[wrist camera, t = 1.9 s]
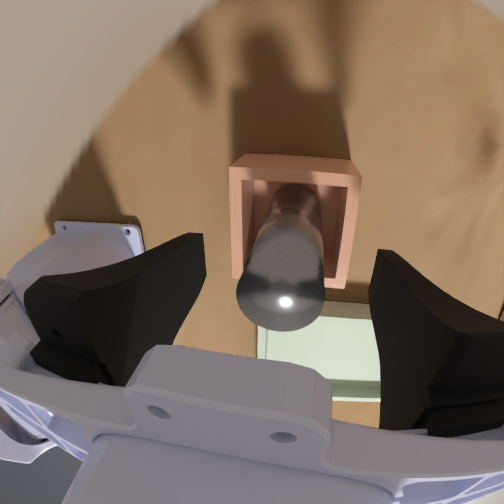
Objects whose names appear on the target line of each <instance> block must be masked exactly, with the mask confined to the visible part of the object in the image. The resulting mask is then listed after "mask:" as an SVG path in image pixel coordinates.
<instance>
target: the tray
mask: <svg viewBox="0 0 504 504" xmlns="http://www.w3.org/2000/svg"><path fill="white" fill-rule="evenodd" d="M257 358H259V359H267V360H275V361H284V362H291V363H294V364H298V365H301V366H305V367H309V368H312V369H315V370H316V371H317V372H318V373H320V374H321V375H322V376H323V377H325V378H326V379H327V380H328V381H329V382H331V389H332V400H336V401H368V402H381V381H380V361H379V353H378V348H377V343H376V338H375V333H374V328H373V324H372V319H371V314H370V306H369V304H361V303H348V302H335V301H325V302H324V307H323V309H322V312H321V313H320V315H319V316H318V318H317V319H316V320H315V321H314V322H312V323H311V324H310V325H308V326H306V327H304V328H302V329H299V330H295V331H289V332H279V331H272V330H268V329H265V328H263V327H260V326H258V347H257Z"/></svg>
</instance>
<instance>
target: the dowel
mask: <svg viewBox="0 0 504 504" xmlns="http://www.w3.org/2000/svg"><path fill="white" fill-rule="evenodd" d="M236 296H237V301H238V304H239V307H240V309H241V310H242V312H243V313H244V314H245V316H246V317H247V318H248V319H250V320H251V321H252V322H253V323H255V324H257V325H258V326H260V327H263V328H265V329H268V330H272V331H279V332H289V331H295V330H299V329H302V328H304V327H306V326H308V325H310V324H311V323H312V322H314V321H315V320H316V319H317V318H318V316H319V315H320V313H321V312H322V309H323V307H324V302H325V284H324V255H323V235H322V218H321V205H320V200H319V198H318V196H317V195H316V193H315V192H314V191H313V190H312V189H310V188H309V187H307V186H305V185H302V184H288V185H285V186H283V187H281V188H280V189H279V190H278V191H277V192H276V193H275V194H274V196H273V198H272V201H271V203H270V206H269V208H268V211H267V213H266V216H265V218H264V221H263V223H262V225H261V228H260V230H259V233H258V235H257V238H256V240H255V243H254V245H253V248H252V250H251V253H250V255H249V258H248V260H247V262H246V265H245V267H244V270H243V272H242V275H241V277H240V280H239V282H238V285H237V289H236Z"/></svg>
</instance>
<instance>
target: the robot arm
mask: <svg viewBox="0 0 504 504" xmlns="http://www.w3.org/2000/svg"><path fill="white" fill-rule="evenodd" d="M54 228H55V231H56V234H54V235H53V236H51V237H50V238H48V239H47V240H46V241H44V242H43V243H41V244H40V245H39V246H37V247H36V248H35V249H33V250H32V251H30V252H29V253H28V254H26V255H25V256H24V257H22V258H21V259H20V260H19V261H17V262H16V263H15V264H14V265H13V266H12V267H11V269H10V270H9V272H8V274H7V277H6V279H3V278H0V459H3V460H8V461H14V462H20V463H31V462H32V461H33V460H34V459H36V458H37V457H38V456H39V455H41V454H42V453H43V452H45V451H46V450H48V449H50V448H52V447H54V446H57V445H58V446H59V447H61V448H62V449H64V450H65V451H67V452H68V453H70V454H72V455H73V456H75V457H77V458H78V459H80V460H82V461H83V463H82V465H81V467H80V469H79V471H78V473H77V475H76V477H75V479H74V481H73V482H72V485H71V486H70V488H69V490H68V492H67V494H66V496H65V498H64V500H63V502H62V504H463V503H466V502H468V501H472V500H475V499H477V498H480V497H483V496H486V495H488V494H491V493H494V492H497V491H499V490H502V489H504V321H502V320H499V319H496V318H493V317H491V316H489V315H486V314H484V313H482V312H479V311H477V310H475V309H473V308H471V307H469V306H468V305H466V304H464V303H462V302H460V301H458V300H457V299H455V298H453V297H452V296H450V295H449V294H447V293H446V292H444V291H443V290H441V289H440V288H439V287H437V286H436V285H435V284H433V283H432V282H431V281H429V280H428V279H427V278H426V277H424V276H423V275H422V274H421V273H419V272H418V271H417V270H416V269H415V268H414V267H412V266H411V265H410V264H409V263H408V262H407V261H405V260H404V259H403V258H402V257H401V256H399V255H398V254H397V253H395V252H394V251H392V250H384V249H378V251H377V256H376V261H375V265H374V270H373V274H372V278H371V282H370V286H369V290H368V293H369V306H370V314H371V319H372V324H373V328H374V333H375V338H376V343H377V348H378V353H379V361H380V381H381V403H380V423H379V428H374V427H369V426H364V425H359V424H354V423H350V422H345V421H341V420H337V419H333V418H332V389H331V382H329V381H328V380H327V379H326V378H325V377H323V376H322V375H321V374H320V373H318V372H317V371H316V370H315V369H312V368H309V367H305V366H301V365H298V364H294V363H291V362H284V361H275V360H267V359H259V358H252V357H245V356H238V355H232V354H226V353H220V352H214V351H208V350H203V349H197V348H192V347H187V346H182V345H172V344H173V341H174V339H175V337H176V335H177V333H178V331H179V329H180V327H181V325H182V324H183V322H184V320H185V318H186V317H187V315H188V313H189V311H190V310H191V308H192V306H193V304H194V303H195V301H196V299H197V297H198V295H199V294H200V291H201V289H202V286H203V284H204V281H205V278H206V275H207V274H206V264H205V252H204V240H203V234H202V233H186V234H183V235H181V236H178V237H176V238H174V239H172V240H170V241H168V242H166V243H163V244H161V245H159V246H157V247H155V248H153V249H150V250H148V251H146V252H144V247H143V241H142V235H141V230H140V228H139V227H138V226H137V225H133V224H115V223H97V222H77V221H57V222H55V224H54ZM127 229H128V230H129V231H130V233H129V232H128V231H127Z"/></svg>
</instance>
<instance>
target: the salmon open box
mask: <svg viewBox="0 0 504 504" xmlns="http://www.w3.org/2000/svg"><path fill="white" fill-rule="evenodd" d="M361 179H362V176H361V174H360V173H359V171H358V170H357V168H356V167H355V165H354V164H353V162H352V161H351V160H345V159H335V158H325V157H313V156H299V155H283V154H261V153H246V154H244V155H243V156H242V157H241V158H239V159H238V160H237V161H236V162H234V163H233V164H232V165H231V166H229V192H230V225H231V253H232V278H236V279H240V277H241V275H242V272H243V270H244V267H245V265H246V262H247V260H248V258H249V255H250V253H251V250H252V248H253V245H254V243H255V240H256V238H257V235H258V233H259V230H260V228H261V225H262V223H263V221H264V218H265V216H266V213H267V211H268V208H269V206H270V203H271V201H272V198H273V196H274V194H275V193H276V192H277V191H278V190H279V189H280V188H281V187H283V186H285V185H288V184H302V185H305V186H307V187H309V188H310V189H312V190H313V191H314V192H315V193H316V195H317V196H318V198H319V200H320V205H321V218H322V235H323V255H324V284H325V287H329V288H340V289H345V284H346V279H347V273H348V268H349V262H350V257H351V251H352V245H353V239H354V232H355V226H356V219H357V212H358V204H359V196H360V188H361Z"/></svg>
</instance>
